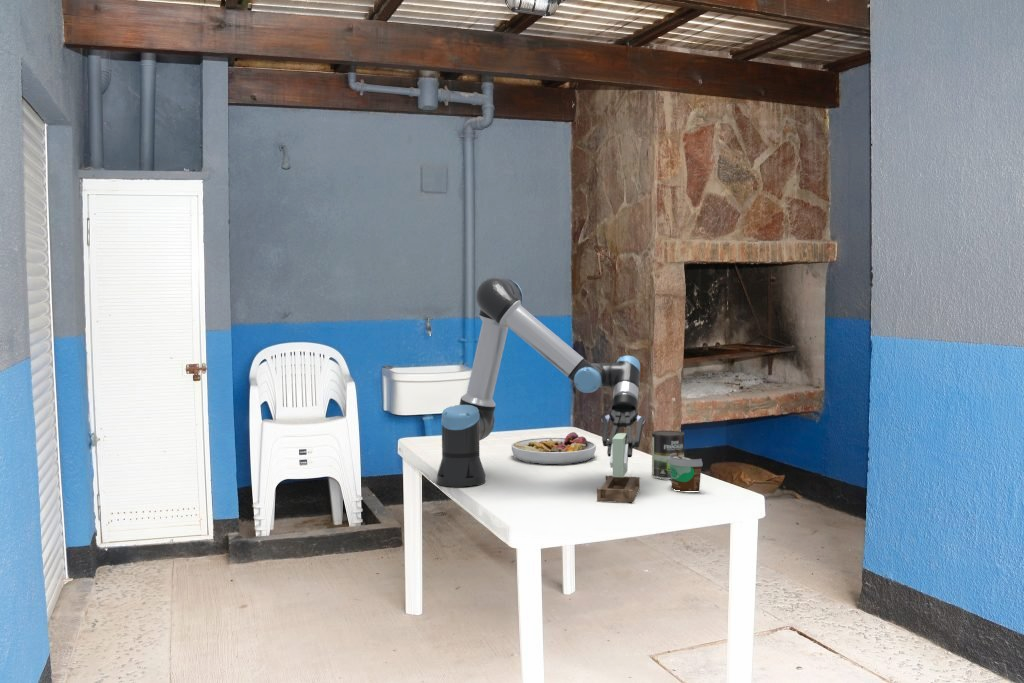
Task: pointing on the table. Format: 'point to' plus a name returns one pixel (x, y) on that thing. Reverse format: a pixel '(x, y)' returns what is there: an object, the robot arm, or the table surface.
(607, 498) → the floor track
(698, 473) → the food container
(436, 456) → the table surface
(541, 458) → the bowl
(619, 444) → the door panel
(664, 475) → the coffee can
